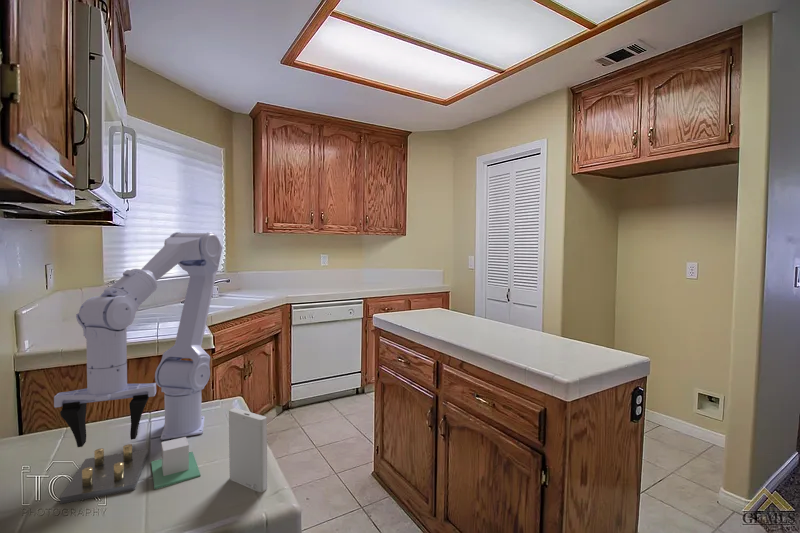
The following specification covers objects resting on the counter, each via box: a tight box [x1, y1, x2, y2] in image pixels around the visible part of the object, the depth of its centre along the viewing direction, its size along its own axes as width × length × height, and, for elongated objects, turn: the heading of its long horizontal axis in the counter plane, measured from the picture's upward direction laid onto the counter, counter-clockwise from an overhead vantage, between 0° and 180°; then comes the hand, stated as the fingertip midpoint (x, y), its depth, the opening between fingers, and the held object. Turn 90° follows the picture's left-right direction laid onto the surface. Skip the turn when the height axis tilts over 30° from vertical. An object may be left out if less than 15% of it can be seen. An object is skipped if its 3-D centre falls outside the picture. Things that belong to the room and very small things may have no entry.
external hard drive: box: [228, 407, 268, 493], centre depth 70 cm, size 2×8×12 cm, turn 60°
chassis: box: [59, 443, 149, 505], centre depth 72 cm, size 13×10×4 cm
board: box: [150, 436, 201, 490], centre depth 74 cm, size 10×7×5 cm
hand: (108, 440), depth 72 cm, fingers open, 7 cm apart
